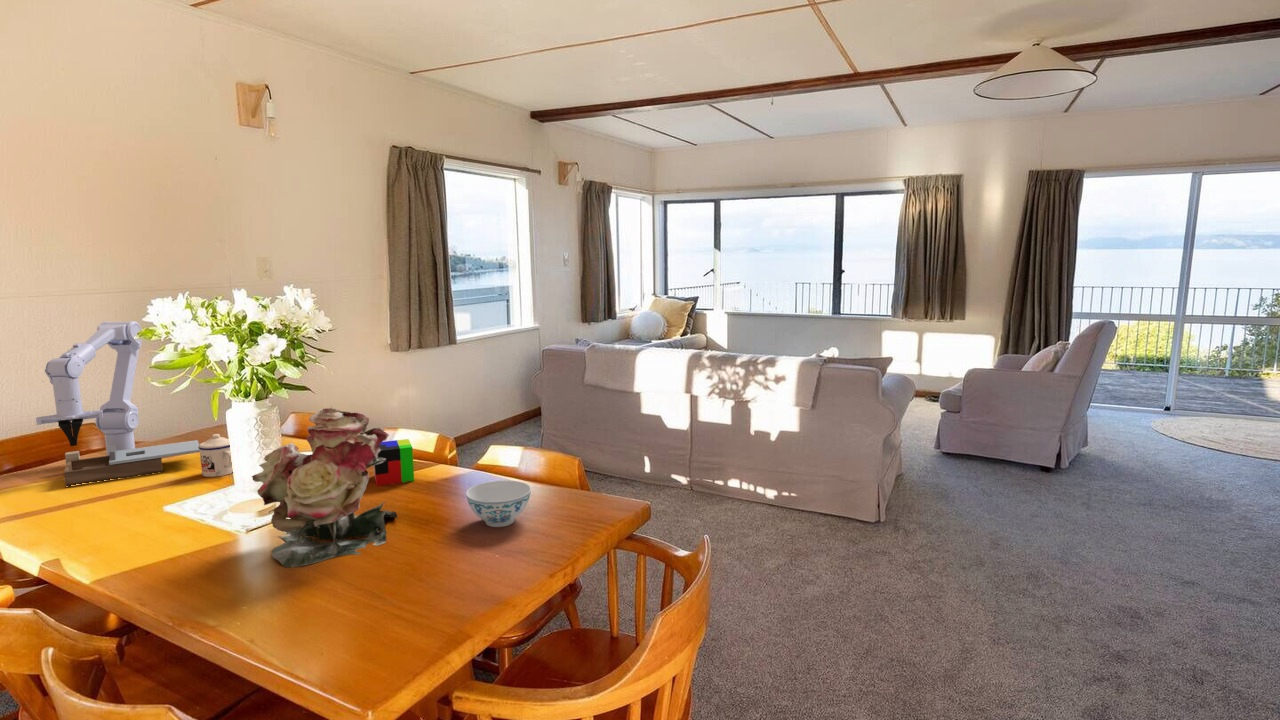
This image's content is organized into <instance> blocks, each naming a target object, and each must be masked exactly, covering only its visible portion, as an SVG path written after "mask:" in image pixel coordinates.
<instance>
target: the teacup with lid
mask: <svg viewBox="0 0 1280 720" xmlns="http://www.w3.org/2000/svg"><path fill="white" fill-rule="evenodd" d="M229 439H230V438H226V437H224V436H221V435H220V434H219V433H214V434H212V435H211V438H209V439H207V440H206V441H204V442H202V443H199V447H198V448H199V449H200V452H199V455H200V464H201V465H200V468H201V475H202V476H203V477H205V478H217V477H224V476H227V475H231V474H233V473H232V462H231V452H230V445H229Z"/></svg>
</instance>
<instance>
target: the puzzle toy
mask: <svg viewBox="0 0 1280 720" xmlns="http://www.w3.org/2000/svg"><path fill="white" fill-rule="evenodd" d="M377 447H380V449H381V451H380V452H379V453H378V457H377V458H385V459H386V461H384V462H383V463H381V464H376V465H373V474H374V476H375V477H374V480H375V485H376V487H379V485H381V486H386V485H385V484H388V485H393V484H392V483H396V484H401V483H400V482H403V483H407V482H406V481H411V482H415V472H414V471H415V470H414V469H415V468H414V467H415V466H414V452H413V446H412V443H411V441H410V439H409V438H406V439H405V438H404V439H396V440H394V439H393V440H385V441H382V443H381V444H380V445H379V446H377Z"/></svg>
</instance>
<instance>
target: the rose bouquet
mask: <svg viewBox="0 0 1280 720" xmlns="http://www.w3.org/2000/svg"><path fill="white" fill-rule="evenodd" d="M308 420H309V422H310V423H311V424H312V423H313V424H315V425H311V426H307V429H306V430H307V432H308V435H307V436H306V437H305V439H306V441H307V443H308V444H309V446H310V449H311V452H312V454H305V453H301V452H299V447H298V446H297V445H295V444H294V443H293V442H291V443H288V444H285V445H282V446H278V447H277V448H276V449H274V450H273V451H271V452H270V453H268V454H267V455H265V456H264V458H263V460H264V462H263V463H260V464H259V465H258V466H259V467H260V468H262V471H261V472H259V473H255V474H253V475H252V476H251V478H252V481H254V483H256V482H257V483H260V482H261V483H262V485H260V487H259V488H258V489H257V490H256V491H257V495H258V496H259V497H260V498H262V500H263V506H266V505H270V504H273V503H279V504H278V506H276V507H274V509H271V510H270V511H268V513H269V514H270V513H271V512H273V514H272V516H271V519H270V523H271V524H272V527H273V528H274V529H276V530H277V531H280V532H283V533H284V532H285V534H286V535H285V536H280V538H281V539H283V540H284V541H285V542H284V543H282V544H280V545H278V546H274V548H273V549H272V552H271V554H272V555H271V556H272V558H273V559H275V560H277V561H278V562H280V564H281V565H282V566H283V567H284V568H286V569H289V568H297V567H303V566H304V567H305V566H309V565H313V564H315V563H320V562H323V561H326V560H330V559H332V558H337V557H342V556H349V555H361V554H362V553H361V552H359V551H357V550H360V549H363V548H366V547H367V545H368V544H370V543H372V545H373V546H380V545H382V544H383V545H384V544H385V543H387V530H386V524H385V518H395V519H397V520H399V517H398V514H397V512H396V511H390V510H386V509H384V510H382V509H383V506H384V505H385V503H386V501H384V502H382V503H381V504H379V505H376V506H375V507H372V508H371V509H367V510H366V511H364V512H363V513H360V514H357V515H355V513H356V512H357V511H358V510H359V509H360V507H361V506H360V501H361V499H362V498H363V495H364V493H365V491H366V489H367V485H368V483H369V480H370V475H369V471H368V470H367V469H369V468H371V467H374V465H376V464H381V463H383V462H384V461H386V459H385V458H377V457H378V453H379V452H380V451H381V449H380V447H377V446H379V445H380V444H381V443H382V442H385V441H387V439H388V437H389V436H390V434H389V433H387V432H386V431H384V430H383V429H381V428H380V427H374V428H371V429H369V430H367V429H368V428H367V427H368V425H369V423H370V418H369V417H367V415H365V413H359V412H350V411H341V410H340V409H338V408H337V409H336V408H333V407H328V408H327V407H326V408H321V409H320V411H317V412H316V413H314V414H311V415H310V416H309V417H308ZM309 536H310V537H309ZM311 537H316V539H317V540H320V541H323V542H319V541H314V540H313V539H312V538H311ZM362 537H363V538H362ZM364 537H365V538H364ZM349 538H352V539H349ZM355 538H357V539H355ZM325 540H332V541H327V542H324V541H325Z"/></svg>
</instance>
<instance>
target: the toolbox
mask: <svg viewBox="0 0 1280 720" xmlns="http://www.w3.org/2000/svg"><path fill="white" fill-rule="evenodd" d="M141 454H145V453H141ZM134 455H139V454H134ZM127 456H132V455H127ZM109 459H110V455H109V456H107V455H104V456H95V457H88V458H80V459H79V460H72V461H68V462H67V465H66V464H65V468H64V471H63V477H64V484H65V485H64V486H65V487H66V486H71V485H76V484H82V483H89V482H97V481H104V480H110V479H118V478H125V479H128V478H127V477H131V478H134V477H133V476H138V475H144V476H147V475H146V474H151V475H153V474H152V473H157V474H159V473H158V472H163V473H164V470H163V462H162V461H163V460H162V458H155V459H148V460H141V461H134V462H127V463H120V464H113V465H109ZM138 477H139V476H138ZM118 480H119V479H118Z"/></svg>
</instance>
